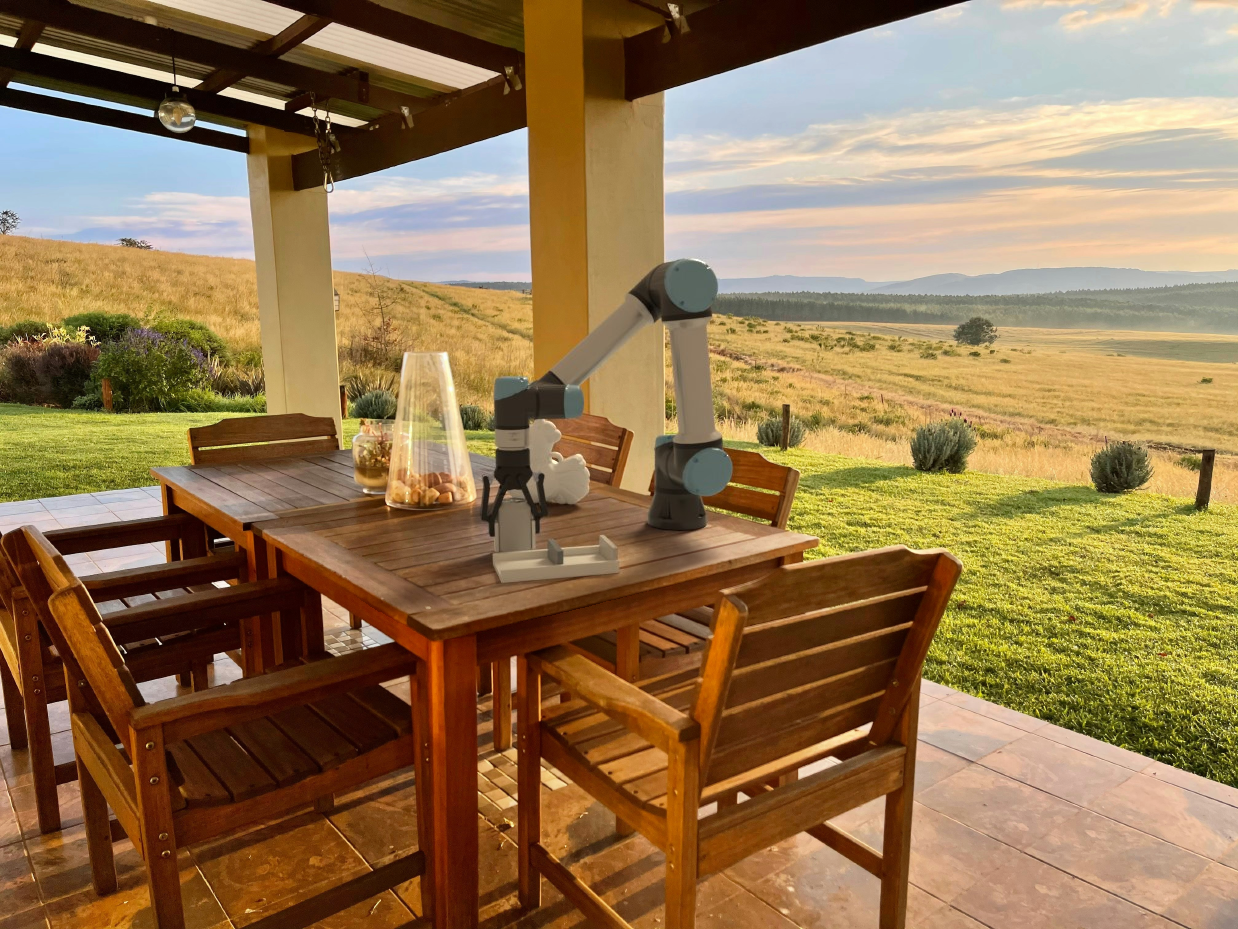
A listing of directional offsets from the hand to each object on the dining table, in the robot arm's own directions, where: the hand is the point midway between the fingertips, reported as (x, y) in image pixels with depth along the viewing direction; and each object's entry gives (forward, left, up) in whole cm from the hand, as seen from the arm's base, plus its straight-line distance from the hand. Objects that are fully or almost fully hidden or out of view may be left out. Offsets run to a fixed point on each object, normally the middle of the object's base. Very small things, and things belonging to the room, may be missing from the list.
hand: (514, 549), depth 181 cm
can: (0, 0, -1) cm, 1 cm away
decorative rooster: (-16, -47, -1) cm, 50 cm away
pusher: (-6, +15, 0) cm, 16 cm away
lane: (-6, +15, -1) cm, 16 cm away
